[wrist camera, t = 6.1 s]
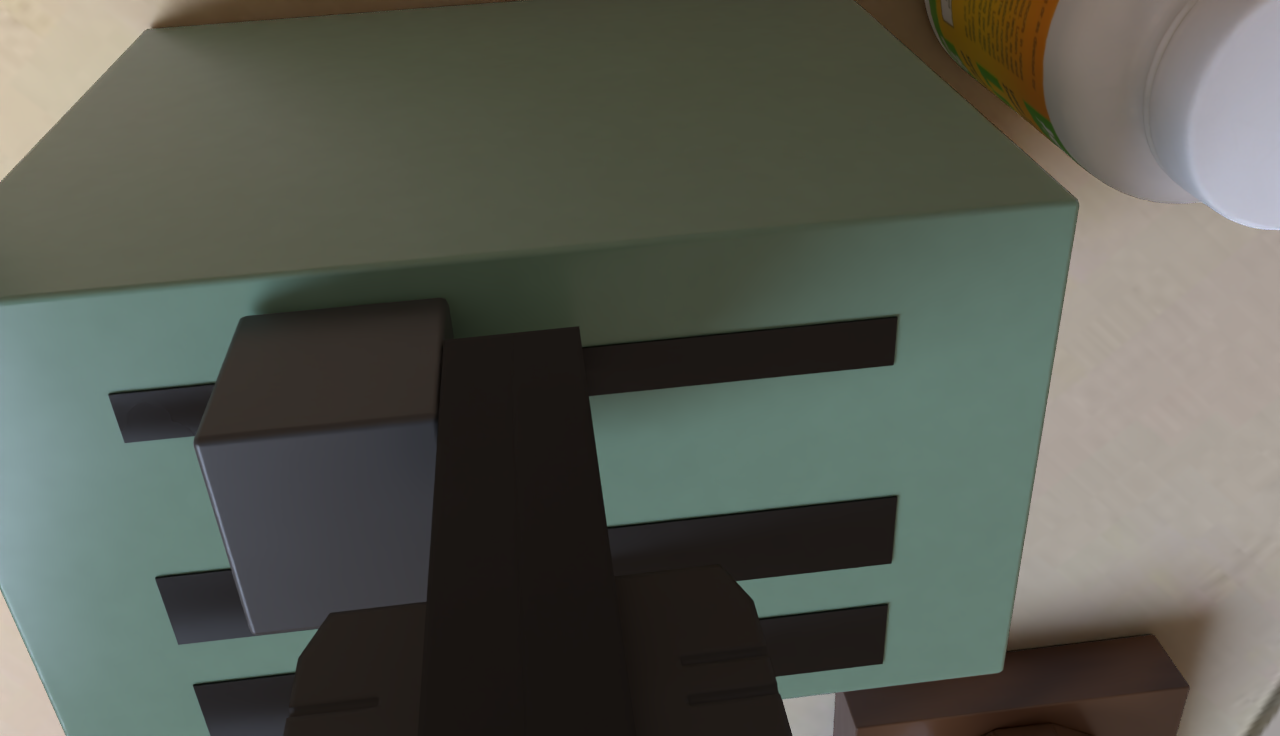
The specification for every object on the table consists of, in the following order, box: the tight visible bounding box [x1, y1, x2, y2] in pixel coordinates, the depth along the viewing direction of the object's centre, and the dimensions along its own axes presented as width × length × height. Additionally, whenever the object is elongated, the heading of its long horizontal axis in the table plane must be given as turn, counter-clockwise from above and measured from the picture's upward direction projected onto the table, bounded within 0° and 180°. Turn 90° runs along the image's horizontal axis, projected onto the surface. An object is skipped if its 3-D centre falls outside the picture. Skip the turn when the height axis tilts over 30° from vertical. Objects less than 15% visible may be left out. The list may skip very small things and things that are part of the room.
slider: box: [193, 298, 454, 635], centre depth 13 cm, size 2×3×3 cm
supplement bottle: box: [925, 0, 1280, 230], centre depth 20 cm, size 5×5×10 cm
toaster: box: [0, 0, 1079, 736], centre depth 21 cm, size 14×8×12 cm, turn 93°
